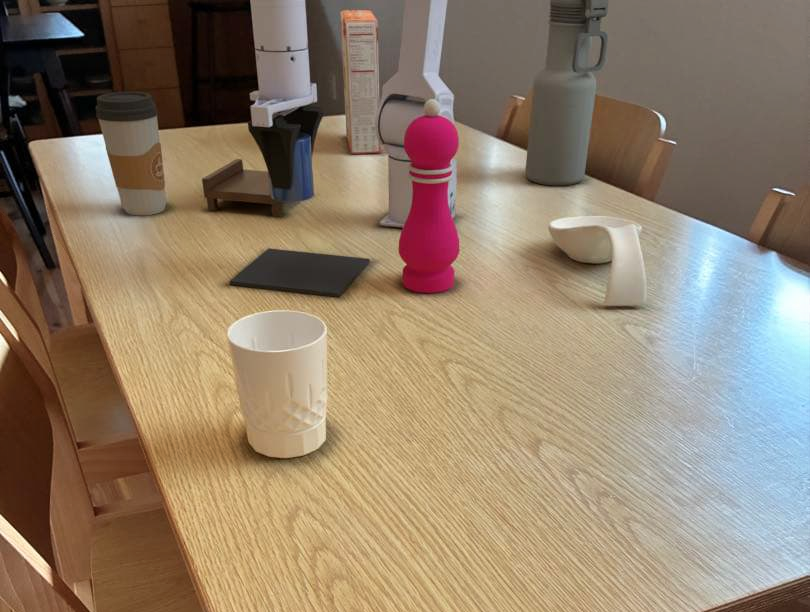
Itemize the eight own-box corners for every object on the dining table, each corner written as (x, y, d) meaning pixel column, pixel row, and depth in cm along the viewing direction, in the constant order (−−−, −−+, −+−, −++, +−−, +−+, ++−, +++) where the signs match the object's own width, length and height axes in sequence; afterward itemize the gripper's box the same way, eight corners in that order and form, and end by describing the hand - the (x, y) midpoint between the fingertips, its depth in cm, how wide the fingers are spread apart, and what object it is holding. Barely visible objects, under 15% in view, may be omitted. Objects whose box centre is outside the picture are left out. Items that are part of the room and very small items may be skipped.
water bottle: (597, 181, 133) (627, -25, 116) (554, 190, 129) (578, -22, 112) (555, 167, 140) (578, -29, 122) (512, 176, 136) (529, -27, 118)
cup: (320, 191, 98) (316, 132, 94) (304, 203, 94) (300, 142, 90) (280, 187, 99) (275, 129, 95) (263, 199, 95) (257, 139, 91)
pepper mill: (464, 277, 100) (474, 95, 87) (448, 298, 94) (455, 108, 82) (409, 269, 101) (410, 91, 89) (390, 290, 96) (388, 103, 84)
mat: (369, 262, 104) (369, 258, 103) (339, 297, 94) (339, 293, 94) (268, 252, 106) (268, 248, 106) (229, 285, 97) (229, 280, 97)
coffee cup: (159, 219, 117) (138, 104, 107) (106, 215, 118) (81, 101, 109) (182, 203, 123) (165, 92, 114) (132, 199, 124) (110, 89, 115)
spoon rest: (537, 240, 110) (543, 185, 106) (622, 239, 111) (631, 184, 106) (576, 310, 92) (585, 246, 87) (677, 308, 92) (691, 244, 88)
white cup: (245, 417, 73) (230, 311, 66) (332, 413, 73) (326, 308, 67) (238, 465, 67) (221, 353, 60) (334, 461, 67) (327, 349, 61)
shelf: (310, 194, 127) (308, 164, 124) (281, 217, 118) (278, 185, 115) (240, 188, 129) (236, 158, 126) (206, 210, 120) (201, 178, 117)
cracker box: (344, 137, 157) (339, 9, 144) (375, 136, 158) (372, 9, 145) (348, 155, 146) (343, 18, 133) (381, 154, 147) (379, 18, 134)
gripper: (273, 37, 93) (283, 163, 102) (218, 56, 82) (234, 195, 91) (330, 40, 92) (336, 167, 100) (282, 59, 81) (293, 200, 89)
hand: (292, 181), depth 96 cm, fingers closed on cup, 5 cm apart
